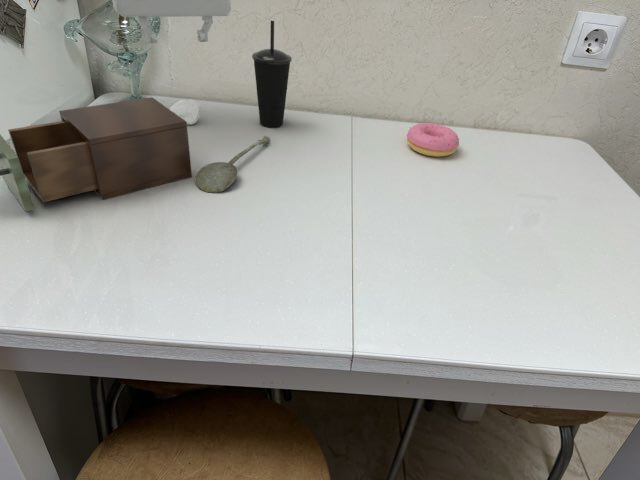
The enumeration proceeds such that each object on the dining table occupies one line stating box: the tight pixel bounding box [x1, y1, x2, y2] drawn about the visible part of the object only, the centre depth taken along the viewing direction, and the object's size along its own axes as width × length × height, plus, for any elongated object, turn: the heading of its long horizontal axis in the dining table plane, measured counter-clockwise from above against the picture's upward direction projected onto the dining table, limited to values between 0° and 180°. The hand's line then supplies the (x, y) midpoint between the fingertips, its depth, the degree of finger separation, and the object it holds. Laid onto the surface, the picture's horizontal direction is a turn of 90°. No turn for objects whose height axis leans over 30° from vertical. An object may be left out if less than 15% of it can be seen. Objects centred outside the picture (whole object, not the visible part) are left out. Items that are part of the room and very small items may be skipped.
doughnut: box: [406, 122, 460, 158], centre depth 101 cm, size 11×11×4 cm
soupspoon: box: [194, 135, 272, 194], centre depth 87 cm, size 22×3×7 cm
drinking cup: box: [251, 20, 293, 129], centre depth 98 cm, size 8×8×20 cm
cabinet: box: [58, 96, 193, 201], centre depth 78 cm, size 15×12×10 cm
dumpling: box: [168, 98, 201, 126], centre depth 100 cm, size 7×5×4 cm
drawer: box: [0, 120, 98, 212], centre depth 71 cm, size 18×11×8 cm, turn 132°
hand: (177, 42), depth 92 cm, fingers open, 8 cm apart
